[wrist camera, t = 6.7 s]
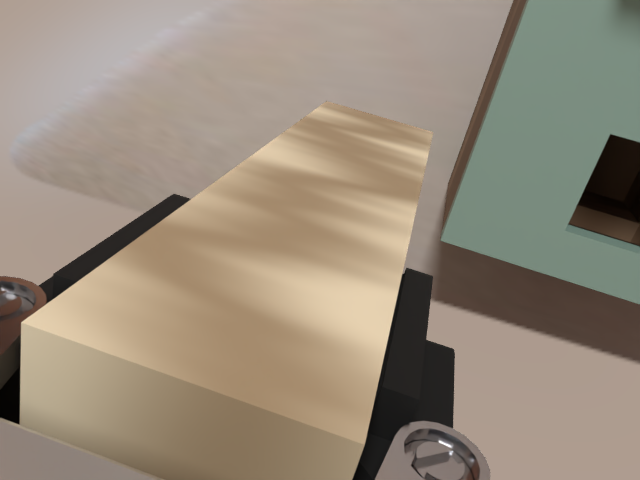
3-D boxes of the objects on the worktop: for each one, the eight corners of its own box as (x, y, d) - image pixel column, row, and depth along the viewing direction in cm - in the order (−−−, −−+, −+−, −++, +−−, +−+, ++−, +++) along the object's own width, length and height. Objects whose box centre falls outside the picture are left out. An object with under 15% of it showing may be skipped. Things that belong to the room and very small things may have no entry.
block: (433, 132, 20) (364, 445, 6) (400, 231, 22) (285, 664, 8) (326, 101, 21) (20, 322, 6) (302, 201, 22) (17, 556, 8)
